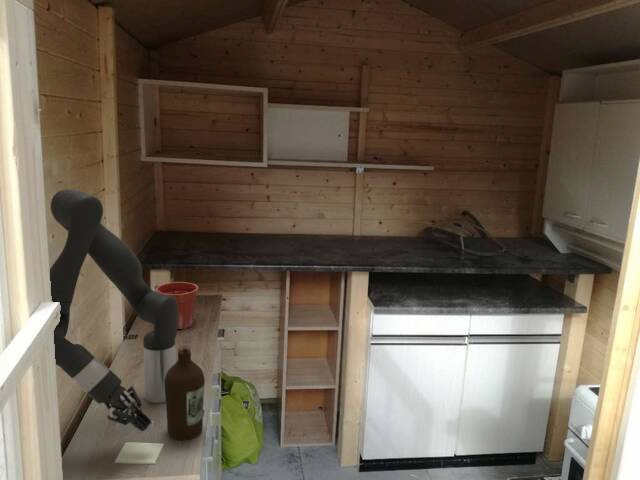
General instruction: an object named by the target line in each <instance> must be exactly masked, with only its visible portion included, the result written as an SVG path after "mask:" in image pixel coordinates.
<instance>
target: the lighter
mask: <svg viewBox="0 0 640 480" xmlns="http://www.w3.org/2000/svg"><path fill="white" fill-rule="evenodd" d="M155 428H156V422H155V421H154V420H151V422H150V424H148V428H147V429H145V430H144V431H141V430H139V429H138V428H137V427H136V426H135V425H134V424H133V423H128V424H127V425H124V424H121V423H118V422H116V424H115V425H114V427H113V429H114V430H115V432H116V433H118V434H119V435H120V436H121V437H123V438H124V439H127V438H128V437H129V436H130V435H131V434H133V433H134V432H135V431H137V432H138V433H139V434H140V433H144V432H148V431H151V430H155Z"/></svg>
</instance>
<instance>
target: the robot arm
mask: <svg viewBox="0 0 640 480" xmlns="http://www.w3.org/2000/svg"><path fill="white" fill-rule="evenodd" d="M50 211H51V214H52V217H53V218H54V219H55V221H56V222H57V224H60V226H61V227H63V228H64V229H65V230H66V231H67V237H66V238H67V239H66V241H65V245H64V246H63V248H62V251H61V253H60V254H59V256H58V257H57V259H55V261H54V263H53V264H52V265H51V267H50V268H49V270H50V281H51V296H52V301H53V302H60V305H61V311H60V314H61V317H60V322H59V324H58V325H57V326H56V328H55V330H54V344H55V359H56V364H55V365H56V366H58V367H60V369H61V370H62V371H64V373H66V374H67V375H68V376H69V377H70V378H71V379H73V381H74V382H75V384H76V385H77V386H78V387H79V388H81V390H83V391H84V392H85V393H86V394H87V396H89V397H91V399H93V401H94V402H95V403H97V404H99V405H100V404H104V405H105V407H106V409H108V410H109V414H108V415H107V417H106V418H107V419H108V420H110V421H111V422H115V423H121V424H124V425H127V424H128V423H133V424H134V425H135V426H136V427H137V428H138V429H139V430H141V431H144V430H145V429H147V428H148V424H150V422H151V421H152V420H151V419H150V418H149V416H148V415H146V414H145V413H144V412H143V411H142V408H141V407H142V406H143V403H142V402H141V399H140V397H139V395H138V393H137V392H136V390H135V387H133V386H130V387H129V388H126V387H125V386H122V379H120V378H119V377H118V375H117V374H115V373H114V372H113V371H112V370H111V369H110V368H109V367H108V366H107V365H106V364H104V363H103V362H102V361H101V360H99V359H98V358H96V357H95V356H94V355H93V354H92V353H91V351H89V350H88V349H87V348H86V347H85V346H84V345H82V344H80V343H72V342H71V341H69V340H68V339H67V338H66V336H67V333H68V330H69V325H70V314H71V313H70V312H71V305H72V303H73V299H74V295H75V291H76V286H77V282H78V279H79V277H80V276H79V275H80V273H81V270H82V267H83V264H84V262H85V259H86V257H87V255H88V256H90V257H91V259H92V260H93V261H94V262H95V264H96V265H97V267H99V269H100V270H101V272H102V273H104V275H105V276H106V277H107V279H109V281H111V282H112V284H113V285H115V287H116V288H117V289H118V291H119V292H120V293H121V294H122V295H123V296H124V297H125V299H126V300H127V301H128V303H129V305H130V306H131V308H132V309H133V311H134V312H135V314H136V315H137V317H138V318H139V319H141V320H142V321H143V322H146V323H150V324H152V325H154V327H153V331H150V332H148V333H146V334H145V335H144V337H143V340H142V341H143V343H142V344H143V345H142V346H143V373H144V374H143V377H144V381H143V382H144V398H145V401H147V402H148V403H153V404H163V403H166V397H165V385H164V381H165V377H166V374H167V372H168V370H169V369H170V368H171V367H172V366H173V365H174V364H175V363H176V338H177V335H178V330H177V328H178V304H177V301H176V299H175V298H174V297H172V296H169V295H165V294H161V293H158V292H157V291H156V290H155V291H154V290H153V289H152V288H150V286H149V285H148V284H147V283H146V282H145V280H144V279H143V267H142V266H143V265H142V263H141V261H140V260H139V258H138V257H137V256H136V254H135V253H134V252H133V250H132V249H131V248H130V246H128V245H127V244H126V243H125V242H124V241H123V240H122V239H120V238H119V237H118V236H117V235H115V234H114V233H113V232H112V231H110V229H108V228H107V227H105V226H104V225H103V223H101V222H102V219H103V217H104V215H103V214H104V207H103V204H102V202H101V200H100V199H99V198H98V197H97V196H94V195H92V194H91V193H90V194H89V193H86V192H84V191H80V190H77V189H72V188H71V189H70V188H65V189H61V190H58V191H57V192H56V193H55V194H54V195H53V197H52V199H51V201H50ZM138 429H137V430H138Z"/></svg>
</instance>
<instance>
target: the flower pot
mask: <svg viewBox="0 0 640 480" xmlns="http://www.w3.org/2000/svg"><path fill="white" fill-rule="evenodd" d="M198 289H199V286H198V285H197V284H195V283H192V282H185V281H175V282H174V281H173V282H167V283H164V284H163V283H162V284H160V285H158V286H157V287H156V289H155V291H156V292H157V293H161V294H165V295H169V296H172V297H174V298H175V299H176V301H177V304H178V328H177V329H182V330H185V329H184V328H186V329H189V328H191V327H192V326H193V325H194V317H195V316H194V315H195V303H196V298H197V291H198ZM190 326H191V327H190ZM188 327H189V328H188Z"/></svg>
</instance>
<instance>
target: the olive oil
mask: <svg viewBox="0 0 640 480" xmlns="http://www.w3.org/2000/svg"><path fill="white" fill-rule="evenodd" d="M177 351H178V352H177V360H176V361H175V364H174V365H173V366H172V367H171V368H170V369H169V370H168V372H167V374H166V377H165V381H164V385H165V397H166V402H165V407H166V423H167V425H166V426H167V435H168V436H169V437H170V438H171V439H175V440H178V441H187V440H188V441H189V440H192V439H194V438H197V437H198V436H199V435H201V434H202V432H203V424H204V423H203V422H204V421H203V418H204V417H205V410H204V399H205V396H204V395H205V386H206V385H205V382H206V381H205V380H206V379H205V375H204V372H203V369H202V368H201V366H199V365H198V364H197V363H196V362H194V361H193V360H192V359H191V356H192V351H191V346H190V345H186V344H184V345H180V346H179V347H178V348H177Z"/></svg>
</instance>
